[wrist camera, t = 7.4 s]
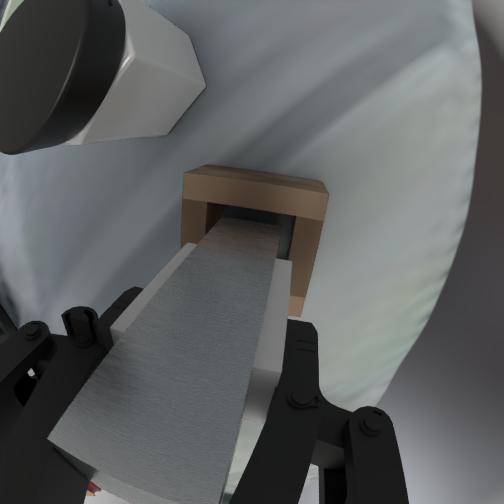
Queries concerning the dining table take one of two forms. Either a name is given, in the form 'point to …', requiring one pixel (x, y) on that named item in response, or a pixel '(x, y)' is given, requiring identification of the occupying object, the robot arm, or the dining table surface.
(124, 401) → the gray rectangular bar
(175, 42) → the jar
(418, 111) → the dining table surface
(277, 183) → the wooden square frame
